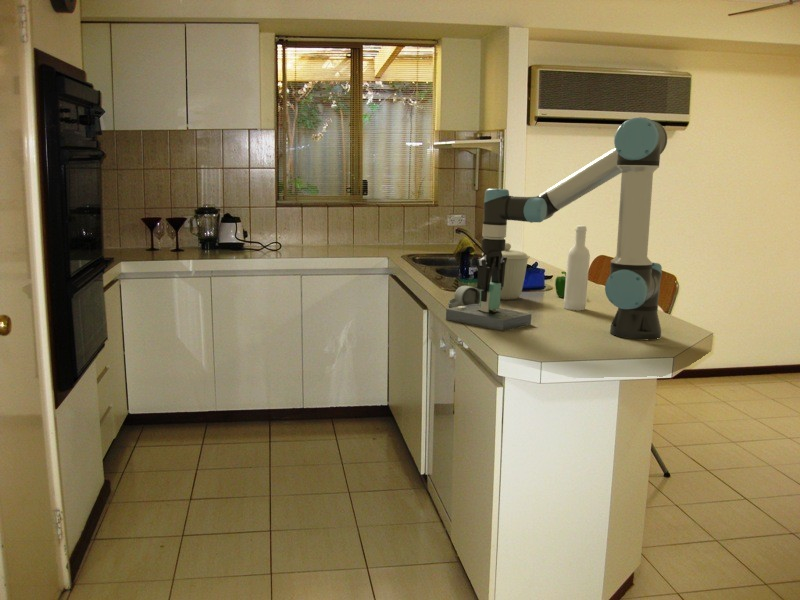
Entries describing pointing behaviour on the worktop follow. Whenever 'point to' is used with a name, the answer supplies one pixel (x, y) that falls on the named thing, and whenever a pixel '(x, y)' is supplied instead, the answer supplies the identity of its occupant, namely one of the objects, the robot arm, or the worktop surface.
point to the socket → (488, 317)
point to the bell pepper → (560, 285)
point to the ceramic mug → (465, 296)
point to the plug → (494, 296)
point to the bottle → (577, 272)
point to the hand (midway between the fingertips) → (488, 310)
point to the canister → (513, 273)
